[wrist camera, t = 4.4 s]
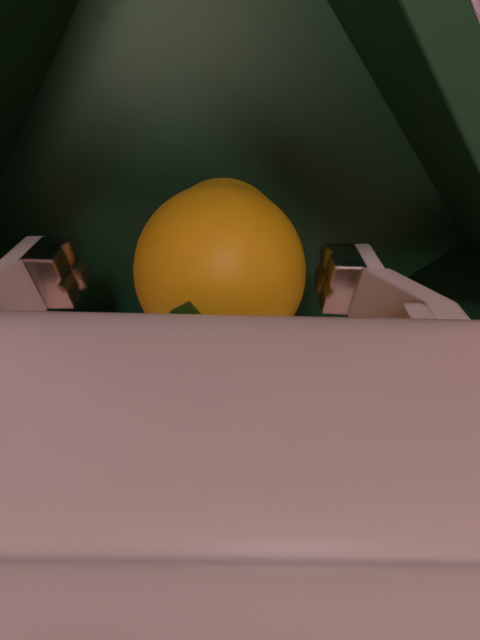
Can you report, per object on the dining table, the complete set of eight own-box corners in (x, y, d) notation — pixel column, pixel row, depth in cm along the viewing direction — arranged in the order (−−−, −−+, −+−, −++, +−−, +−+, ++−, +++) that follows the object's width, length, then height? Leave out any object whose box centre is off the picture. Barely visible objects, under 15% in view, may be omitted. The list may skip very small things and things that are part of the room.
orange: (315, 256, 14) (359, 385, 8) (207, 307, 16) (189, 437, 10) (251, 124, 10) (261, 203, 5) (124, 210, 12) (38, 329, 7)
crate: (484, 232, 14) (583, 308, 10) (237, 384, 21) (235, 462, 17) (183, -345, 6) (60, -1160, 2) (-38, 220, 13) (-156, 292, 9)
